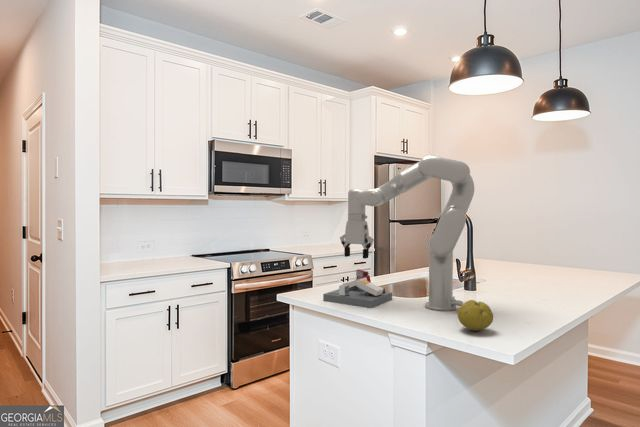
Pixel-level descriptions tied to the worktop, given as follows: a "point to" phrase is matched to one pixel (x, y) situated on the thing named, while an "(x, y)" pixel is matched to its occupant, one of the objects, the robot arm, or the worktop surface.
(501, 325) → the worktop surface
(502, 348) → the worktop surface
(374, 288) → the rocker
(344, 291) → the slider
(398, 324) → the worktop surface
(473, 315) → the fruit
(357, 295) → the panel
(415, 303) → the worktop surface
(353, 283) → the rocker
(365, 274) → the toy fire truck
